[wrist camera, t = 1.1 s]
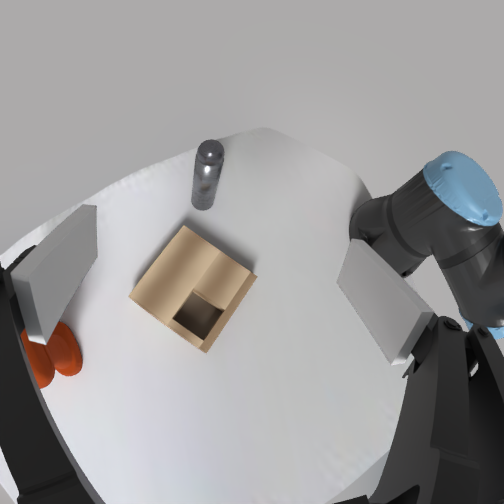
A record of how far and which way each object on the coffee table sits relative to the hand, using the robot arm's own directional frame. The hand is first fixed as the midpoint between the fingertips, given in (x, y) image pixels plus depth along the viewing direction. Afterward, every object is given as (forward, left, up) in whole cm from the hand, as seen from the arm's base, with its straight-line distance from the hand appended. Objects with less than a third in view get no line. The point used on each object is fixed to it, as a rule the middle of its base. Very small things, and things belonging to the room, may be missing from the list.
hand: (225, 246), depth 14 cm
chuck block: (+2, -2, -27) cm, 27 cm away
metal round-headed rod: (+9, -14, -27) cm, 31 cm away
